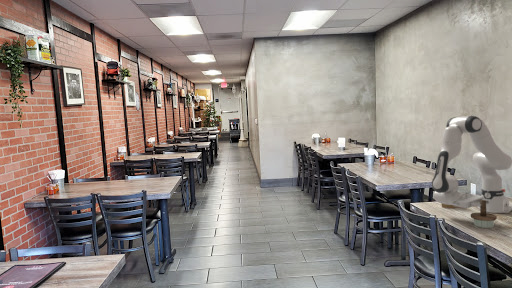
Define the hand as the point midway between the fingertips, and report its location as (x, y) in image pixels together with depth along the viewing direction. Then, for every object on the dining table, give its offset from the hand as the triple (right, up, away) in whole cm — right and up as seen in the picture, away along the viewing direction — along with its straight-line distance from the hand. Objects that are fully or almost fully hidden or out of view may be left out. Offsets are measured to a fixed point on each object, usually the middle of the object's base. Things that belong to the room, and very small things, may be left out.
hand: (484, 203), depth 207 cm
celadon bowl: (0, -13, +2) cm, 13 cm away
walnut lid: (0, -8, +1) cm, 9 cm away
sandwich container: (+5, -9, +49) cm, 50 cm away
